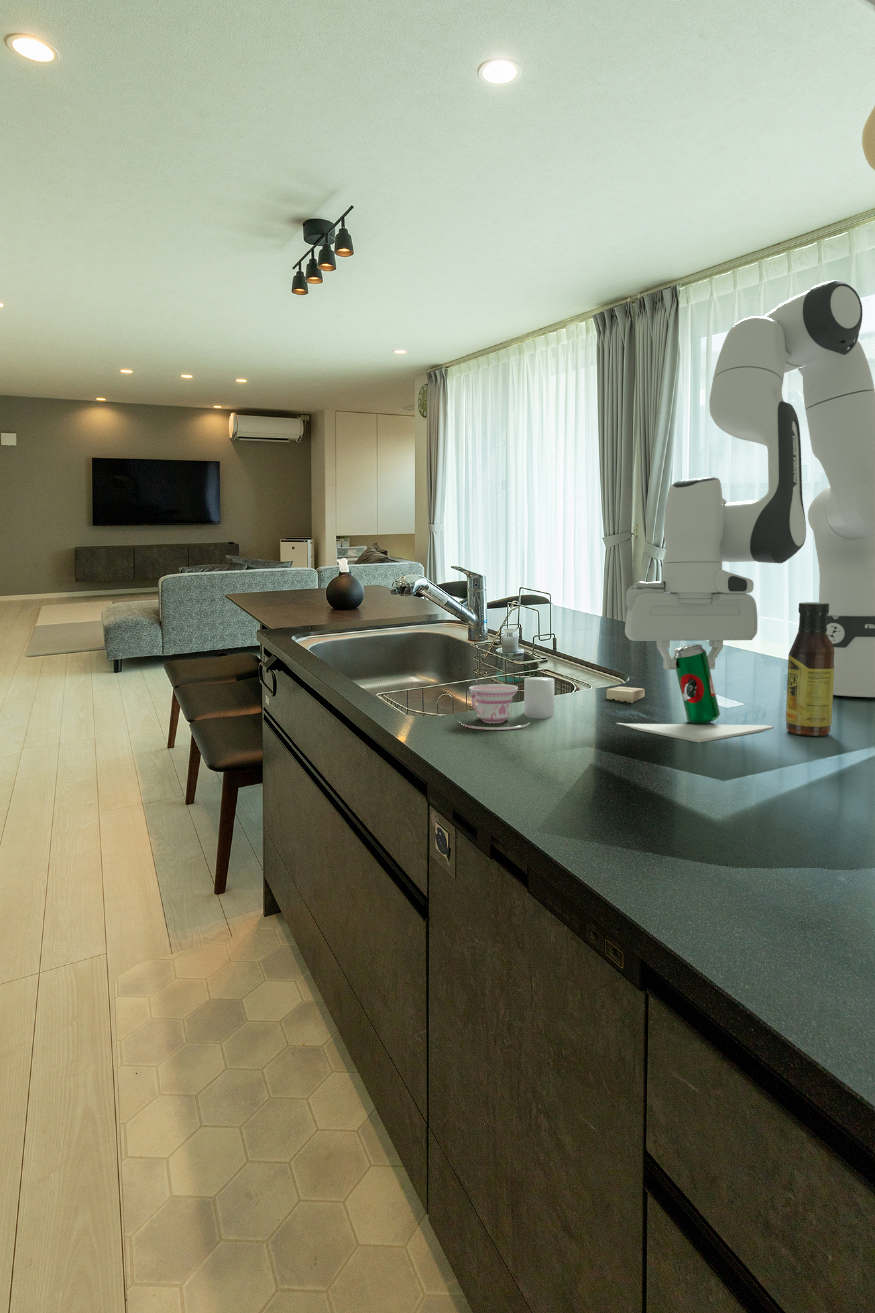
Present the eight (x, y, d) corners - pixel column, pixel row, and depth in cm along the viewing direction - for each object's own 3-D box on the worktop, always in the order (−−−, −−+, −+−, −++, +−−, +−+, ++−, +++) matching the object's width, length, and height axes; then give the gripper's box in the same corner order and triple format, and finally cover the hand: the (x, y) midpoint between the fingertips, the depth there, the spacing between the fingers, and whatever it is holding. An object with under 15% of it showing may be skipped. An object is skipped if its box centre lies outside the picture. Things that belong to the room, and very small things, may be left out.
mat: (679, 713, 130) (679, 711, 130) (773, 729, 115) (773, 726, 115) (606, 723, 121) (606, 721, 121) (699, 742, 106) (699, 739, 106)
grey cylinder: (542, 716, 128) (542, 676, 127) (560, 721, 123) (560, 679, 123) (518, 719, 126) (518, 678, 125) (535, 723, 121) (535, 681, 121)
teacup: (492, 715, 130) (492, 680, 129) (545, 724, 121) (546, 687, 120) (442, 724, 122) (442, 687, 121) (495, 734, 113) (495, 694, 112)
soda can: (725, 719, 115) (708, 645, 114) (693, 726, 116) (676, 653, 115) (714, 713, 120) (698, 642, 119) (683, 720, 121) (667, 650, 120)
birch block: (619, 707, 138) (619, 686, 138) (644, 710, 135) (644, 688, 134) (606, 711, 134) (606, 689, 134) (631, 714, 131) (632, 691, 131)
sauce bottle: (785, 728, 116) (790, 601, 114) (830, 731, 113) (836, 602, 112) (784, 736, 110) (789, 602, 108) (832, 739, 107) (838, 602, 106)
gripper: (632, 581, 112) (630, 671, 114) (764, 581, 113) (760, 671, 115) (620, 581, 119) (618, 667, 120) (745, 581, 120) (742, 666, 121)
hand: (689, 669), depth 117 cm, fingers closed on soda can, 5 cm apart
